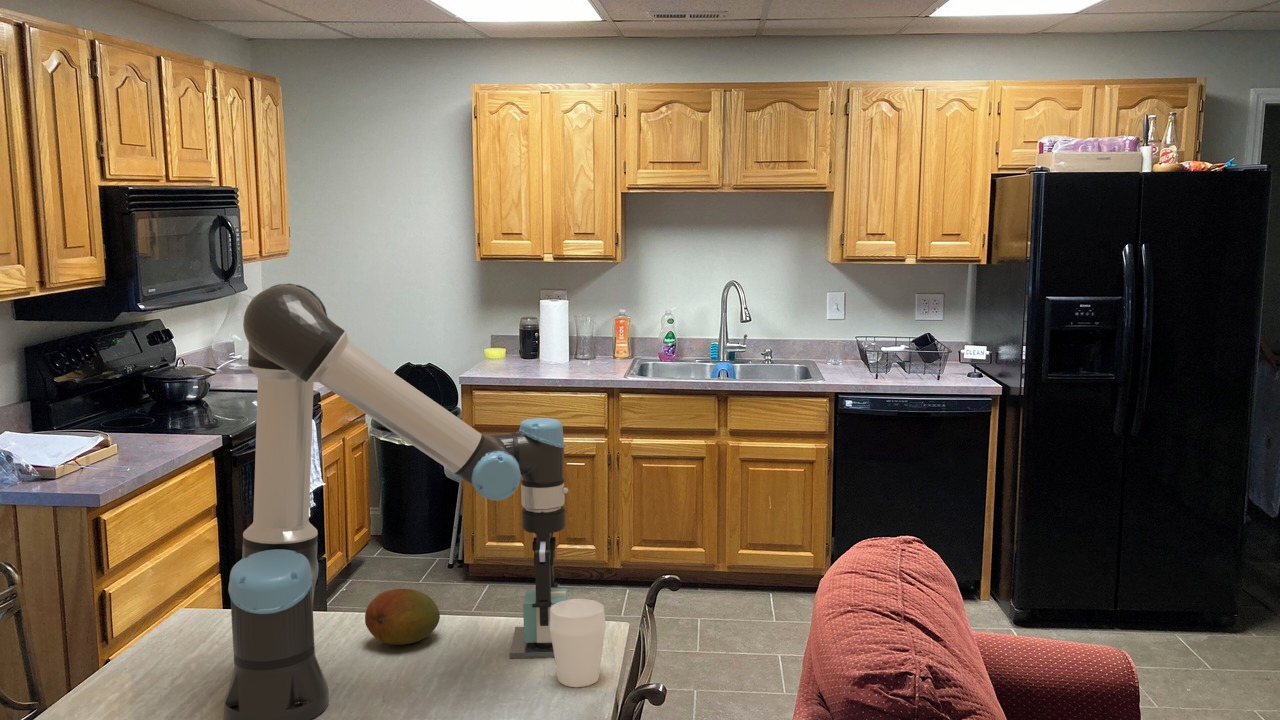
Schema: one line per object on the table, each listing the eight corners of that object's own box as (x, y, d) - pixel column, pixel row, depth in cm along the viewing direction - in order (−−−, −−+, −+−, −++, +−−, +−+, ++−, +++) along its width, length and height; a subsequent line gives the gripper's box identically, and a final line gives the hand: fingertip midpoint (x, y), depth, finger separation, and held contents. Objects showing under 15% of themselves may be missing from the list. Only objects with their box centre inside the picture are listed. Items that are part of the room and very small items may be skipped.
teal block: (524, 642, 175) (522, 600, 175) (527, 627, 183) (526, 586, 182) (566, 641, 176) (565, 599, 175) (568, 625, 183) (567, 585, 182)
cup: (598, 693, 160) (597, 619, 158) (543, 688, 161) (542, 616, 160) (611, 669, 168) (610, 600, 167) (559, 665, 170) (558, 597, 169)
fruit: (355, 647, 179) (353, 593, 178) (404, 624, 190) (402, 573, 189) (405, 660, 173) (403, 604, 172) (452, 635, 184) (451, 582, 183)
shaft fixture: (509, 658, 173) (508, 624, 173) (515, 632, 185) (514, 600, 185) (579, 656, 174) (579, 623, 173) (581, 630, 186) (580, 599, 185)
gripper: (562, 522, 167) (565, 655, 169) (566, 492, 187) (569, 611, 190) (517, 523, 167) (520, 656, 169) (526, 493, 187) (528, 612, 189)
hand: (546, 632), depth 179 cm, fingers closed on teal block, 7 cm apart
